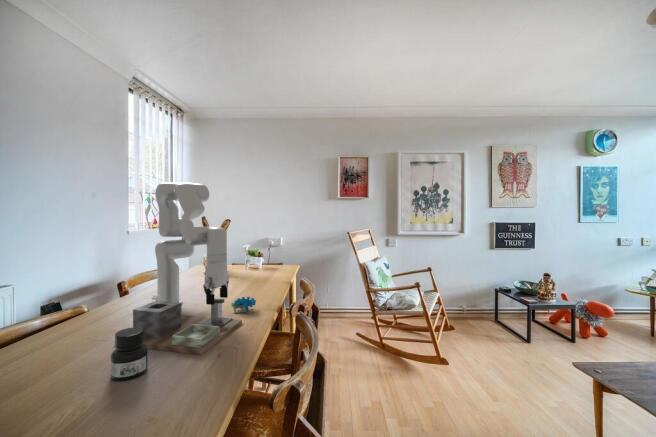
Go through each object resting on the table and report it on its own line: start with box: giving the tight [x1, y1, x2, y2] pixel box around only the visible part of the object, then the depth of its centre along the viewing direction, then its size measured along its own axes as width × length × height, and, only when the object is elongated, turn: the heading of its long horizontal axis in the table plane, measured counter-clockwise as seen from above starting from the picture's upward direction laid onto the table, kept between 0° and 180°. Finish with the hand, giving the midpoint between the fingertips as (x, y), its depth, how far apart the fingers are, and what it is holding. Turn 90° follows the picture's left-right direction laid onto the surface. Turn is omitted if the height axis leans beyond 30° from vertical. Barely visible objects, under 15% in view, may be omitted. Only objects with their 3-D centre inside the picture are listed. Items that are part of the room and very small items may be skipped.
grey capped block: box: [210, 298, 225, 323], centre depth 122 cm, size 6×3×9 cm, turn 79°
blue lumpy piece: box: [230, 296, 257, 314], centre depth 140 cm, size 11×6×10 cm
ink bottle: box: [110, 326, 149, 381], centre depth 87 cm, size 10×9×12 cm
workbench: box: [132, 300, 243, 356], centre depth 115 cm, size 33×28×11 cm
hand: (217, 300), depth 122 cm, fingers open, 9 cm apart
